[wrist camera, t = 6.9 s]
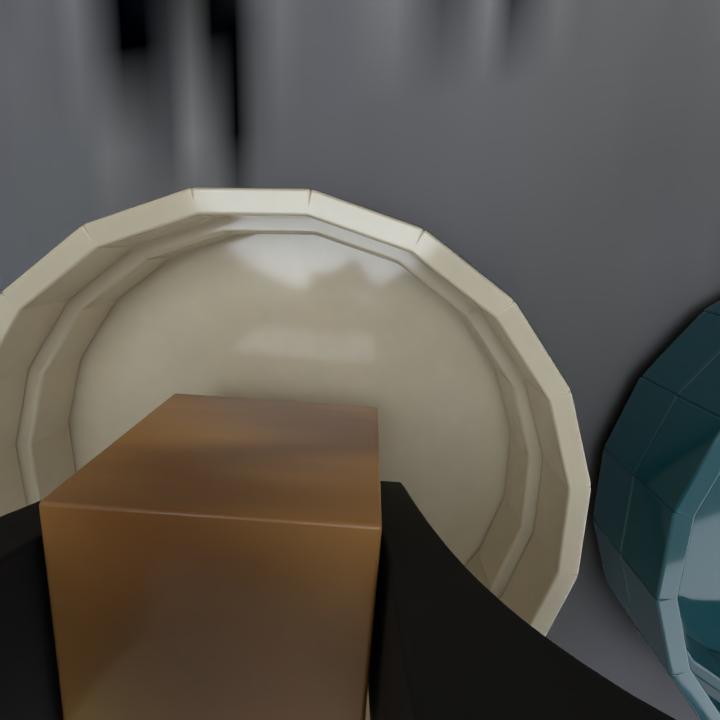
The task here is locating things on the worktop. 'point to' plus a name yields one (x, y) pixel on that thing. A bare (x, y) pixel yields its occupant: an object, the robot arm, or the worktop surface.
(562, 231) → the worktop surface
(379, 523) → the block
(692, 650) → the teal bowl
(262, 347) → the cream bowl
